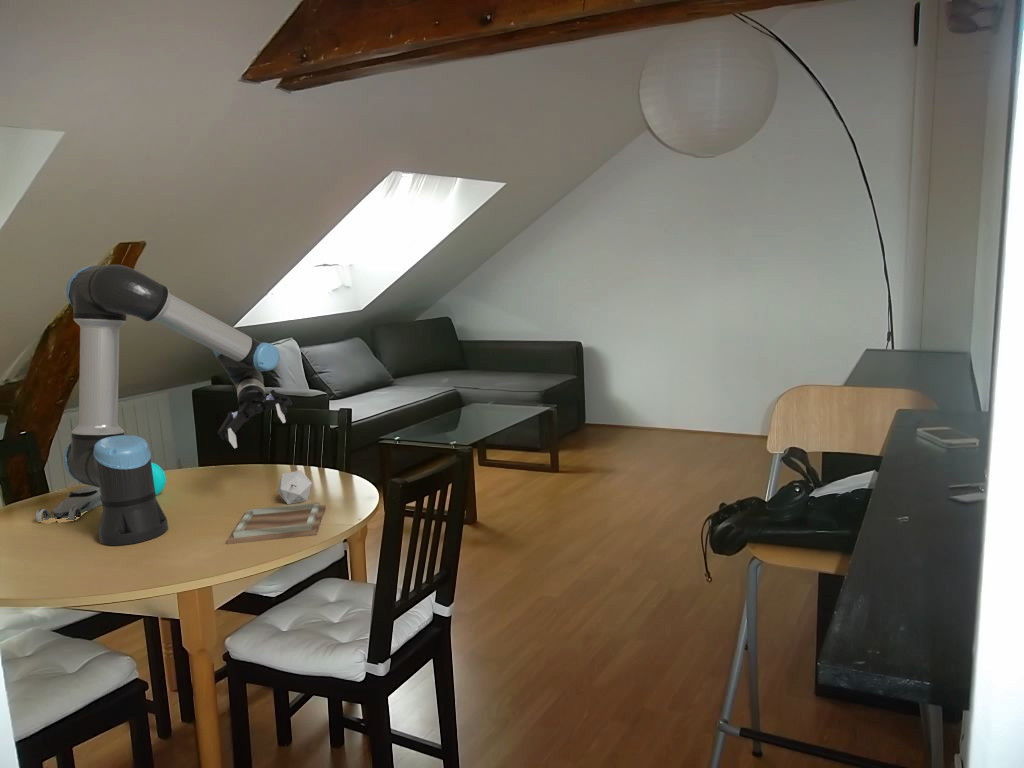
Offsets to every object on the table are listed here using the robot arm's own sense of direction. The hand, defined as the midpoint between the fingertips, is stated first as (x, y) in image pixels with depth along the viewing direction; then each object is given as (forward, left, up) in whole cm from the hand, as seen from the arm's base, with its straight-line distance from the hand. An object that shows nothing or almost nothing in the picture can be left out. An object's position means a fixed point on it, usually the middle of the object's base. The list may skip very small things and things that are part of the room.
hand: (257, 431), depth 204 cm
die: (+3, +7, -21) cm, 22 cm away
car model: (-48, -26, -21) cm, 58 cm away
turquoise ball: (-38, -13, -21) cm, 45 cm away
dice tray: (+15, -7, -20) cm, 26 cm away
